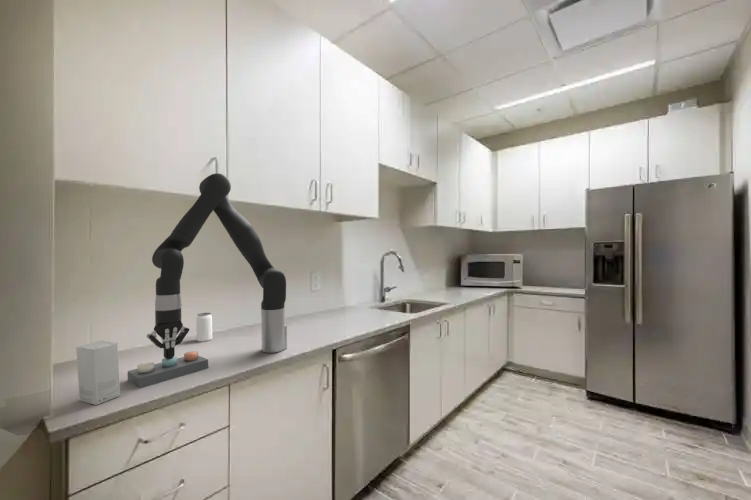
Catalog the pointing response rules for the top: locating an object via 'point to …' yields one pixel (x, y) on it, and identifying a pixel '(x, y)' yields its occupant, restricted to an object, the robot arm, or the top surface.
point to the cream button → (145, 367)
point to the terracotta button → (191, 356)
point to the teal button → (169, 362)
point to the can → (204, 327)
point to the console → (166, 371)
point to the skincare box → (98, 372)
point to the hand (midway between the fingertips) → (169, 358)
